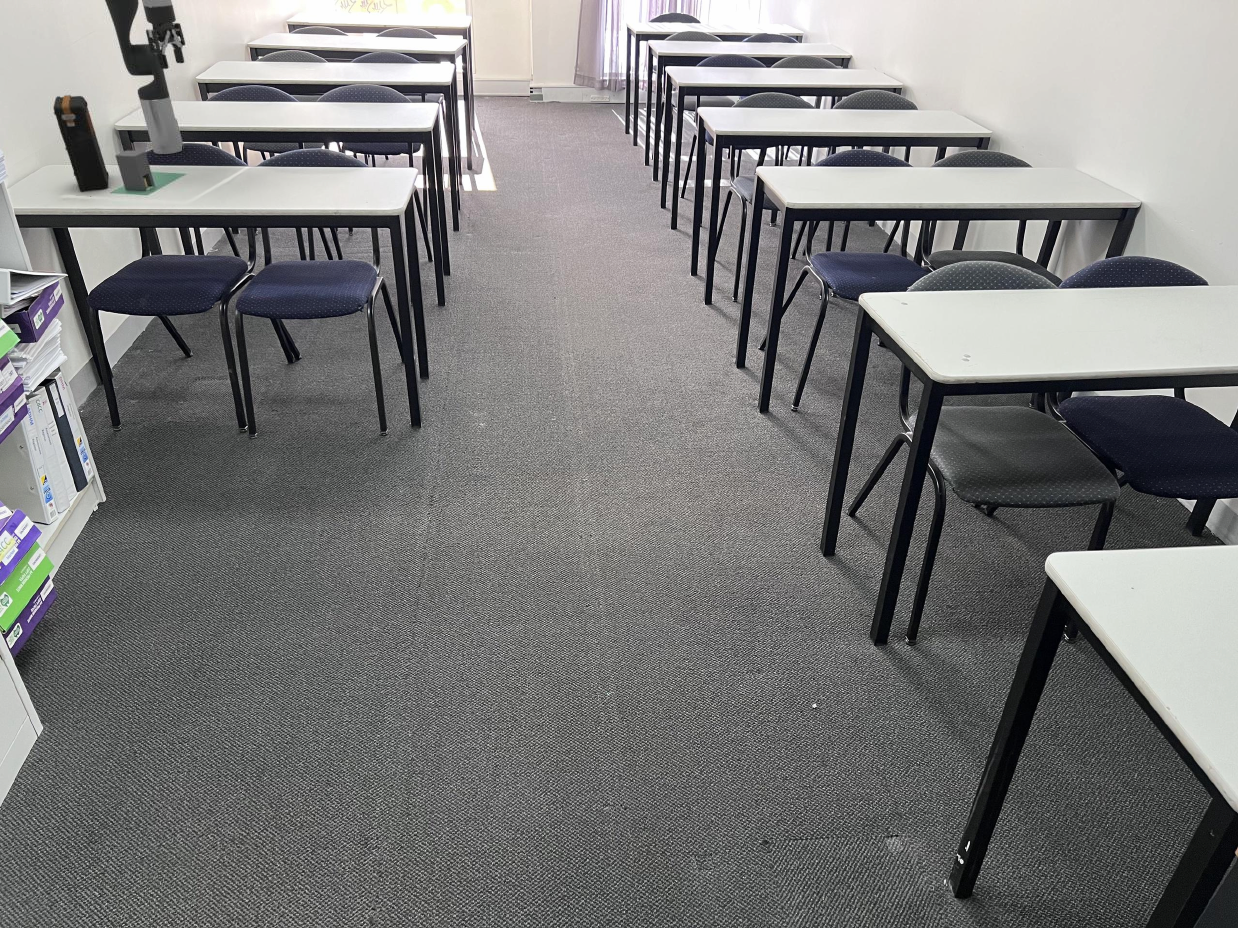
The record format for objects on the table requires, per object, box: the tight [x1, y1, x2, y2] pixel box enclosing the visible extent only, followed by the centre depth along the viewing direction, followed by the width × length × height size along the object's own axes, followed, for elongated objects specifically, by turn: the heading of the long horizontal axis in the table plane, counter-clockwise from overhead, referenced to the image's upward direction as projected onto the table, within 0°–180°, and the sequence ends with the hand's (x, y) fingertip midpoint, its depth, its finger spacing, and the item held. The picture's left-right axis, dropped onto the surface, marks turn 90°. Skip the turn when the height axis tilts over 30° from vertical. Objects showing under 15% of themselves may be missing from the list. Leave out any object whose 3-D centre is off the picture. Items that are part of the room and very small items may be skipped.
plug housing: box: [114, 149, 155, 191], centre depth 265 cm, size 6×6×10 cm
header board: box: [109, 171, 187, 196], centre depth 271 cm, size 22×12×4 cm, turn 173°
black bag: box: [52, 94, 110, 193], centre depth 264 cm, size 16×9×25 cm, turn 25°
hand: (172, 66), depth 259 cm, fingers open, 8 cm apart
